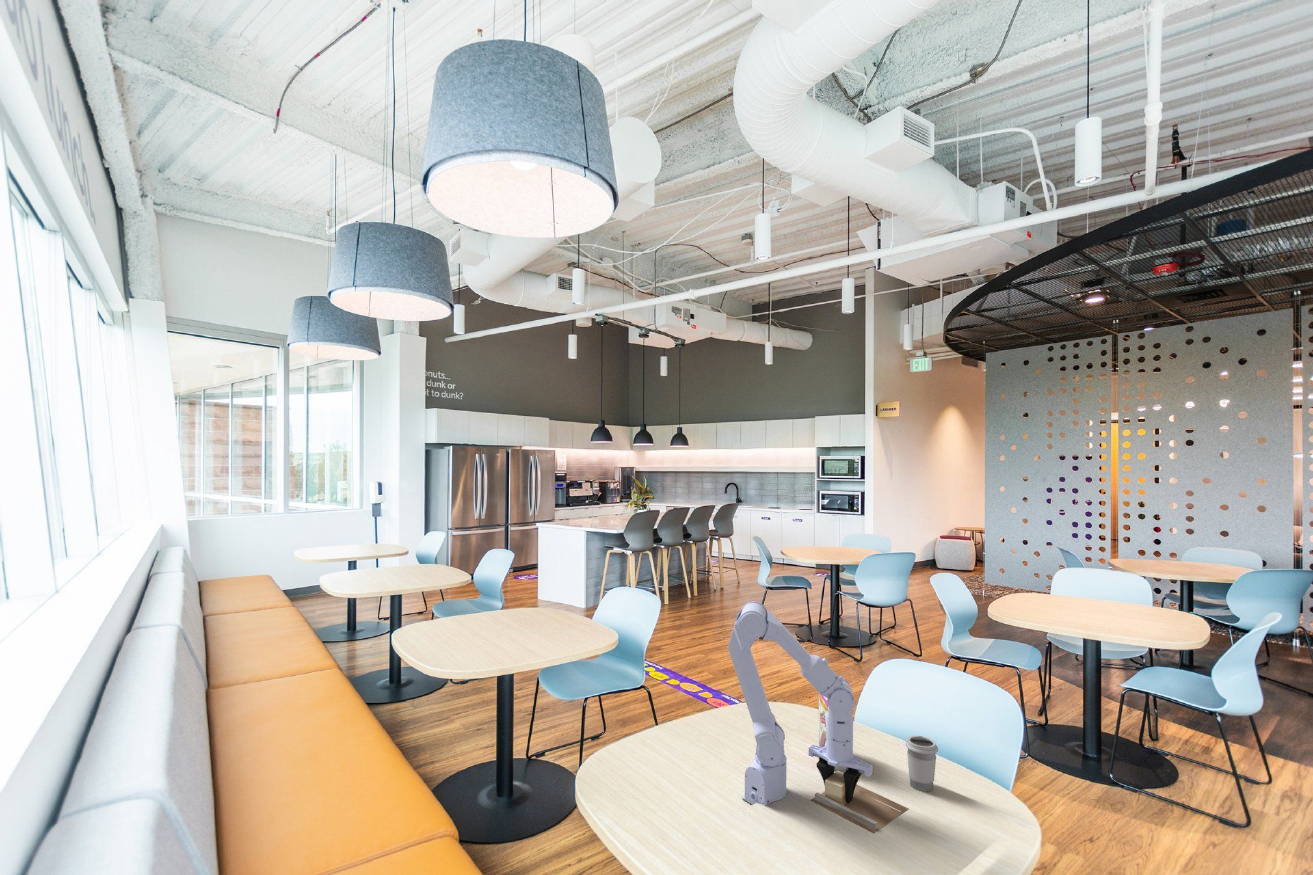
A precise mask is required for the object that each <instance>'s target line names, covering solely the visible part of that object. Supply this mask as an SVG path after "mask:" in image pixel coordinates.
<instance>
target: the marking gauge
mask: <svg viewBox="0 0 1313 875" xmlns="http://www.w3.org/2000/svg"><path fill="white" fill-rule="evenodd" d="M843 773H844V772H842V771H841V770H835V771H834V774H833V775H831V776H830V777H829V778H828V779H826V780H825V785H824V792H825V797H827V798H829V799H831V800H833V801H835V802H837V803H839V804H841V805H843V806H844V805H845V804H846V803H847V802H846V800H845V781H844V777H843ZM853 797H854V794H853Z"/></svg>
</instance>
